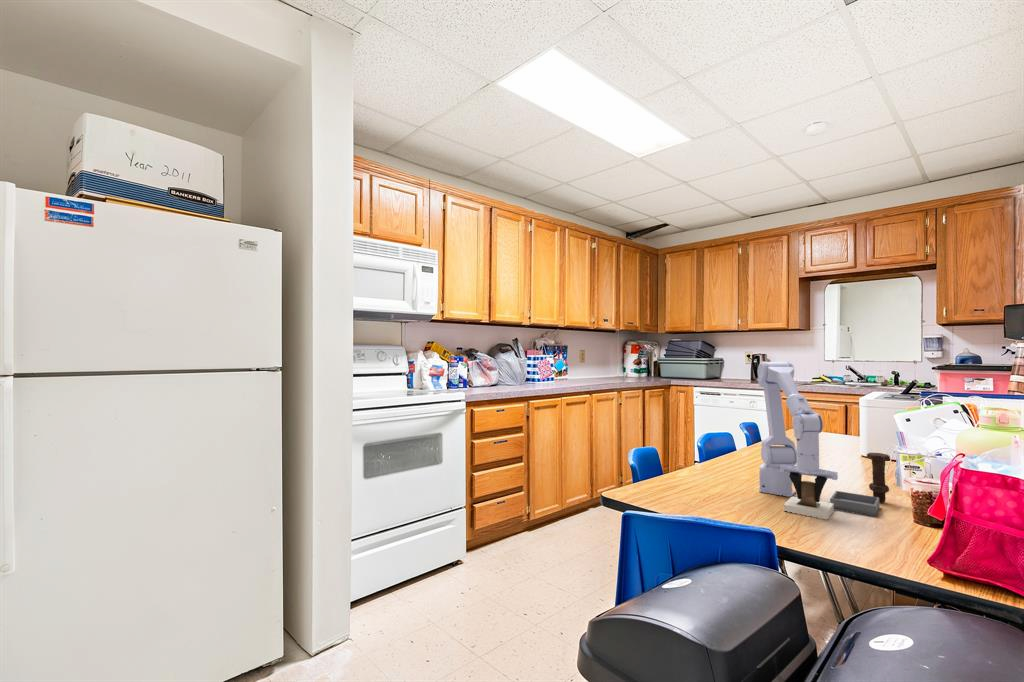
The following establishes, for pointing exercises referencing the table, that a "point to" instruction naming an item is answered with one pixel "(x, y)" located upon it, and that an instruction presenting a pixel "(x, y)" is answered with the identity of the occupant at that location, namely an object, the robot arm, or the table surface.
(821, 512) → the socket block
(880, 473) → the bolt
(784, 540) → the table surface
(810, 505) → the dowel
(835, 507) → the tray
